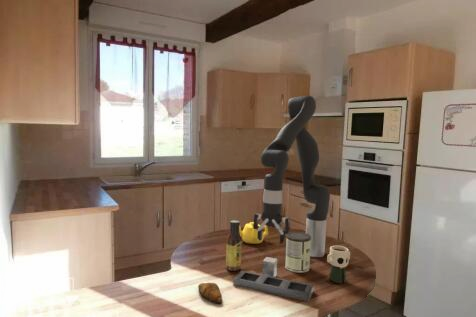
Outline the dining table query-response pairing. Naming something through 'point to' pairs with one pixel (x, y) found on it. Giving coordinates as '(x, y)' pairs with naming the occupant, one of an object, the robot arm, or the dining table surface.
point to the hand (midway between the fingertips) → (270, 241)
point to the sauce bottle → (233, 247)
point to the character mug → (338, 263)
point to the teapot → (252, 234)
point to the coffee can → (297, 252)
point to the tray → (274, 285)
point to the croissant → (211, 292)
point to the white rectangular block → (270, 267)
